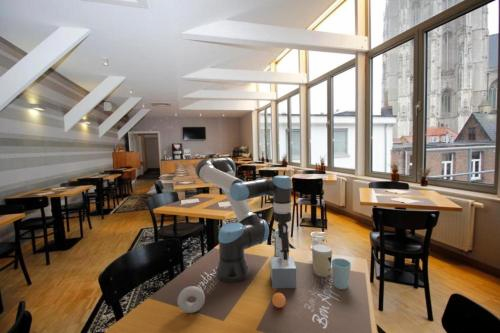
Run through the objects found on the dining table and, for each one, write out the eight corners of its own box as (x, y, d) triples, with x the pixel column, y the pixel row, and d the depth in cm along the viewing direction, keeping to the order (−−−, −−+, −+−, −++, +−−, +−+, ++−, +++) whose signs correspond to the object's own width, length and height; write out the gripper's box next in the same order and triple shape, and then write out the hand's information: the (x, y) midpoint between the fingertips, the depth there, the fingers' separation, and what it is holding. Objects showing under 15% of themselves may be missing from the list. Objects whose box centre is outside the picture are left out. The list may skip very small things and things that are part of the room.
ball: (269, 306, 92) (269, 294, 92) (277, 300, 96) (277, 288, 95) (280, 312, 89) (280, 299, 88) (288, 305, 93) (288, 293, 92)
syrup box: (281, 252, 137) (280, 227, 135) (289, 255, 133) (289, 230, 131) (274, 255, 133) (274, 230, 132) (282, 259, 129) (282, 232, 127)
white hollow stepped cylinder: (325, 263, 123) (325, 234, 122) (311, 262, 125) (311, 234, 123) (323, 256, 130) (323, 229, 129) (310, 256, 132) (310, 229, 130)
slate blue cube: (272, 288, 104) (272, 268, 103) (270, 275, 114) (270, 257, 113) (296, 288, 103) (296, 268, 103) (292, 274, 114) (292, 256, 113)
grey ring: (177, 317, 88) (176, 291, 87) (178, 310, 91) (177, 285, 90) (205, 313, 89) (204, 287, 88) (205, 307, 93) (204, 282, 92)
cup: (343, 279, 109) (344, 257, 108) (354, 289, 101) (354, 266, 100) (328, 281, 108) (328, 259, 106) (337, 292, 100) (337, 268, 99)
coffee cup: (333, 278, 110) (333, 253, 109) (312, 276, 112) (312, 251, 111) (330, 267, 119) (331, 244, 118) (311, 266, 121) (311, 243, 120)
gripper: (295, 220, 93) (296, 273, 95) (287, 204, 118) (288, 246, 120) (276, 220, 93) (277, 273, 95) (271, 204, 118) (272, 246, 120)
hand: (283, 258), depth 107 cm, fingers open, 13 cm apart
